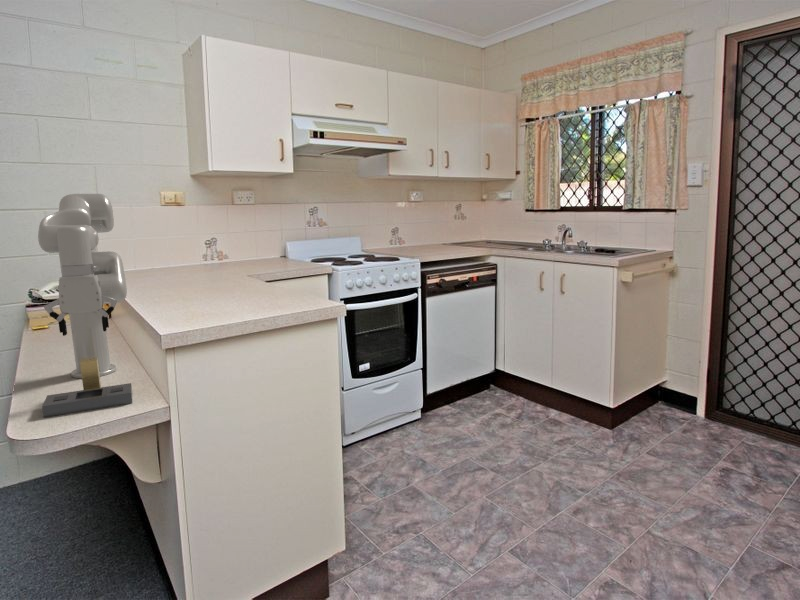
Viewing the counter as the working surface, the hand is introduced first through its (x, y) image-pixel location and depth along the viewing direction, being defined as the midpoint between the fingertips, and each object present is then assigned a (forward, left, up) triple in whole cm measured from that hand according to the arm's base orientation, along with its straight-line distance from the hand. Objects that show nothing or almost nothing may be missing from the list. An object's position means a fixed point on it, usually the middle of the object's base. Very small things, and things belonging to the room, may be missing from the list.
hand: (85, 332), depth 146 cm
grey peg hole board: (+9, 0, -18) cm, 20 cm away
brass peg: (-1, 0, -18) cm, 18 cm away
